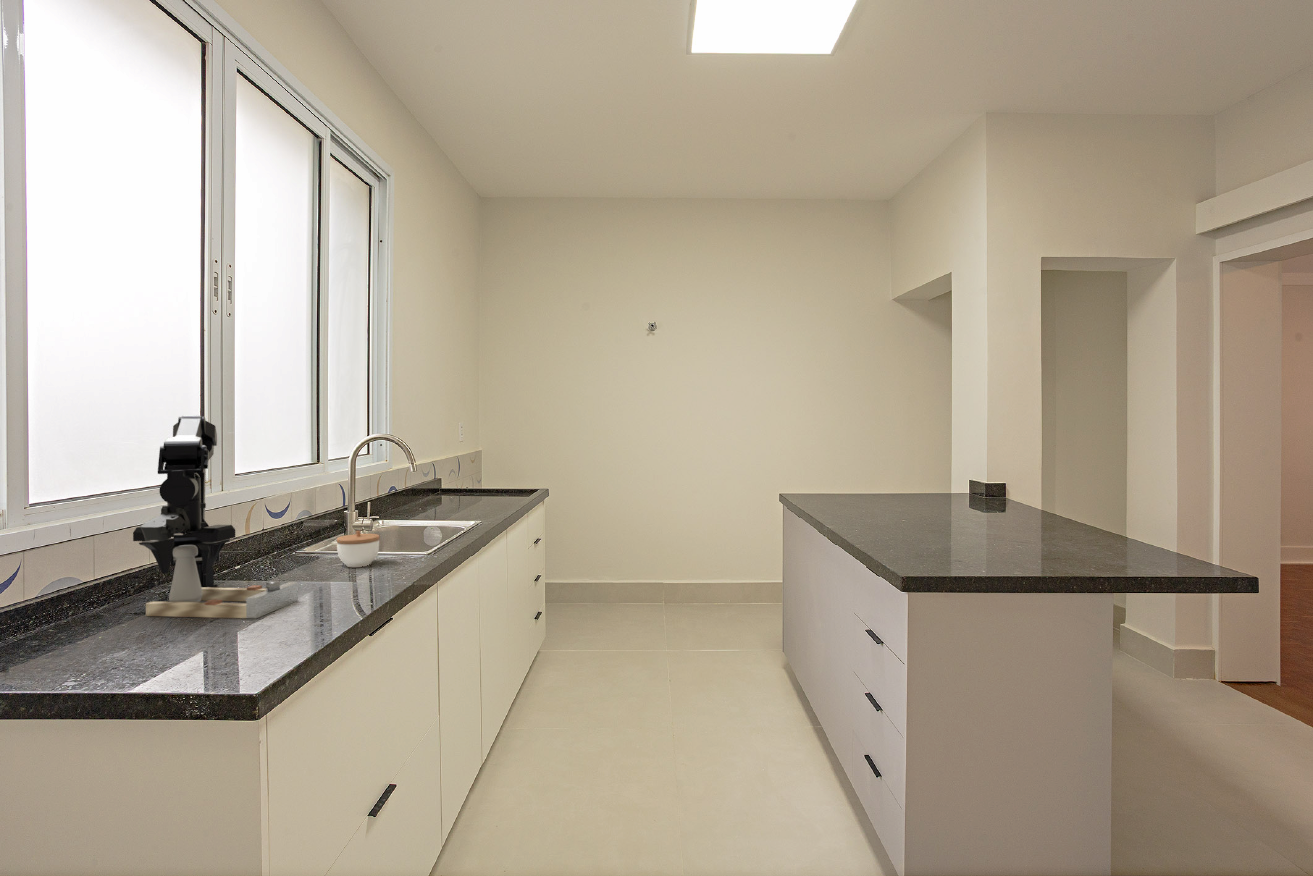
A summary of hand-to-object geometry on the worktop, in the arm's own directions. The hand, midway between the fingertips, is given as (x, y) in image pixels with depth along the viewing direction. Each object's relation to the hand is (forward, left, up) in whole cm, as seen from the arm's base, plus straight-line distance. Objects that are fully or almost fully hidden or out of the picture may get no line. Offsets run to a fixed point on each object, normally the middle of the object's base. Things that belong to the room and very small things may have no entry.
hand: (185, 573), depth 135 cm
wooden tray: (+8, 0, -7) cm, 11 cm away
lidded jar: (+14, +42, -7) cm, 45 cm away
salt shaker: (0, 0, -7) cm, 7 cm away
